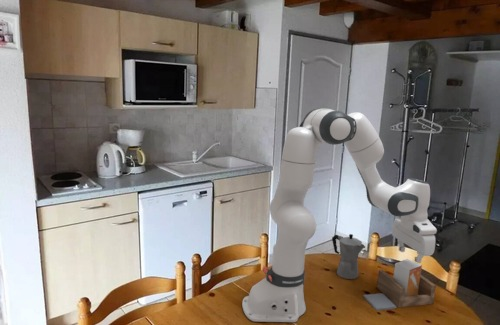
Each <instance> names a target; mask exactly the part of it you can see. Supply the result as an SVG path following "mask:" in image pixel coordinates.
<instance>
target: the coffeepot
mask: <svg viewBox="0 0 500 325" xmlns="http://www.w3.org/2000/svg"><path fill="white" fill-rule="evenodd" d="M337 240H338V241H339V251H338V246H337V245H338V244H337ZM331 241H332V244H333V250H334V253H336V254H337V255H339V254H340V260H339V263H338V266H337V269H336V274H337V275H338V276H339V277H340V278H343V279H345V280H346V279H347V280H355V279H357V278H358V277H359V265H358V262H359V261H358V258H359V255H360V253H361V252H362V251H363V249H366V246H365V245H364V244H363V243H362V241H361V240H360V239H358V238H356V237H354V235H353V234H350V233H349V235H348V236H346V237H344V236H341V235H338V234H335V235H334V236H332V237H331Z"/></svg>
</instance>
